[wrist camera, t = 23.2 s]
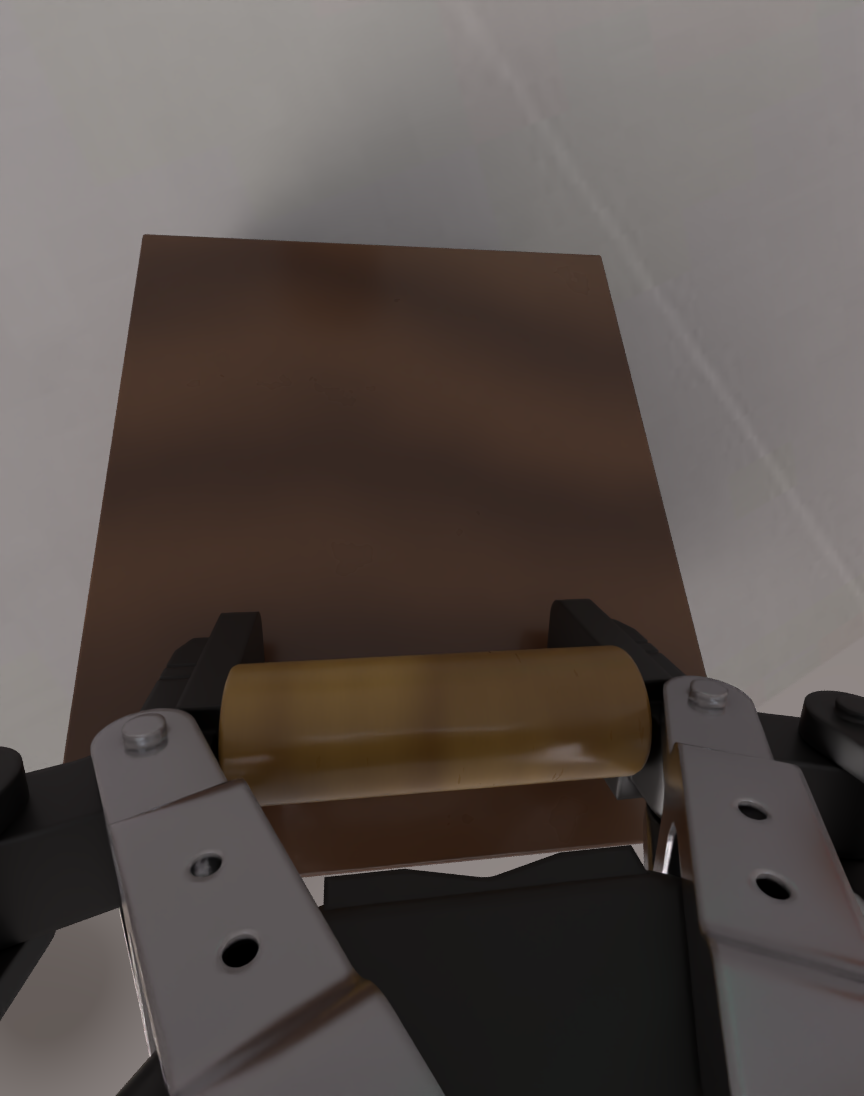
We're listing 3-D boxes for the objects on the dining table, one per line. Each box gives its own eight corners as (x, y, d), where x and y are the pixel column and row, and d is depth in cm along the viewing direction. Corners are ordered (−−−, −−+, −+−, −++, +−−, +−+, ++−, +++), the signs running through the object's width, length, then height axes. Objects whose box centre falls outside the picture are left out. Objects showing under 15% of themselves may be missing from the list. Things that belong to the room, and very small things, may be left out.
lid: (725, 831, 13) (945, 852, 8) (60, 897, 11) (-169, 975, 6) (592, 274, 19) (672, 98, 14) (150, 256, 17) (71, 46, 12)
